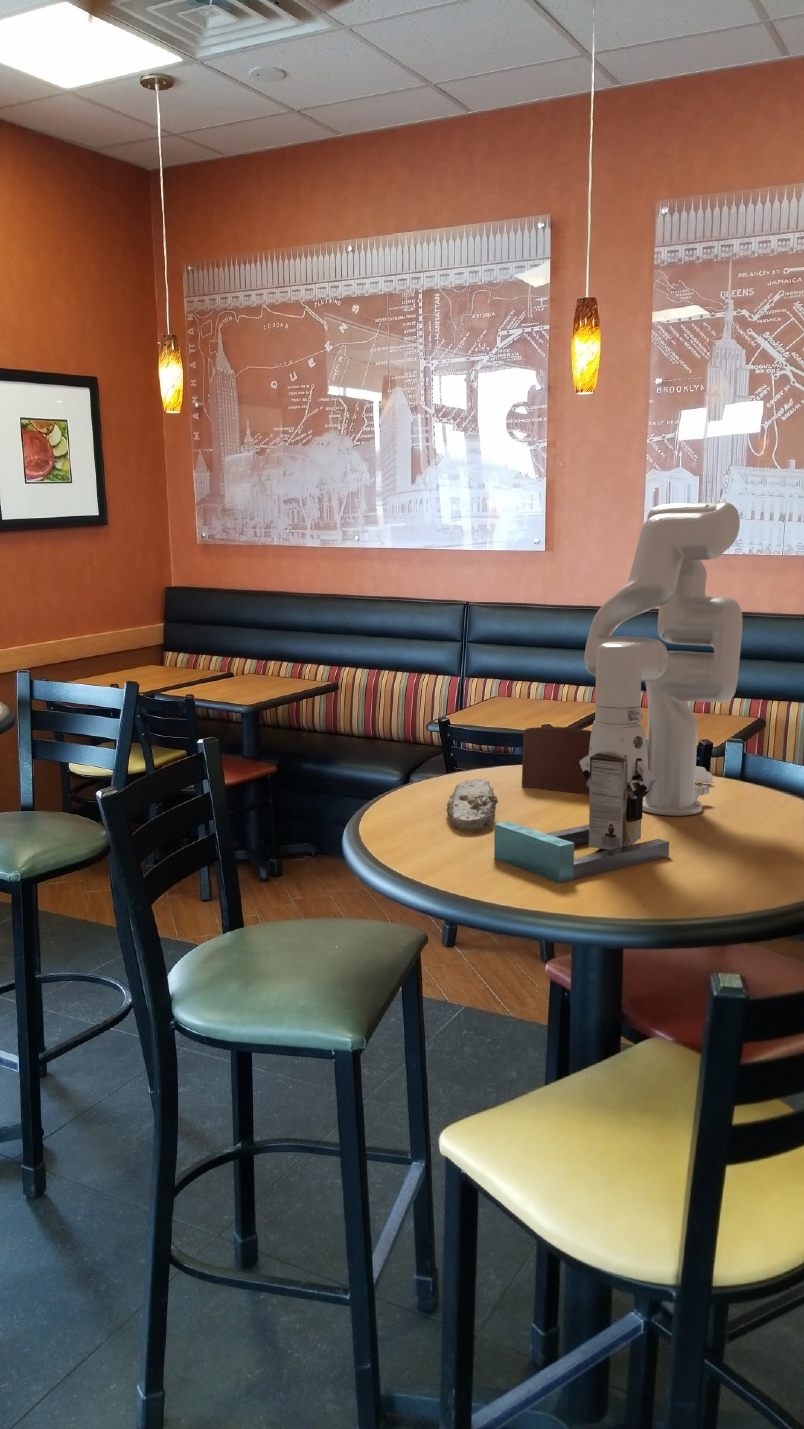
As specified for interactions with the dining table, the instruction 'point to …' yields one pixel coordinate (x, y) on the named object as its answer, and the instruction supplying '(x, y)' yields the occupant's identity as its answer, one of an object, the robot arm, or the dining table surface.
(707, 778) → the car cutout
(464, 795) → the elongated rock
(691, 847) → the dining table surface
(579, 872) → the keeper channel
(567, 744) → the letter holder
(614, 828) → the coffee box
